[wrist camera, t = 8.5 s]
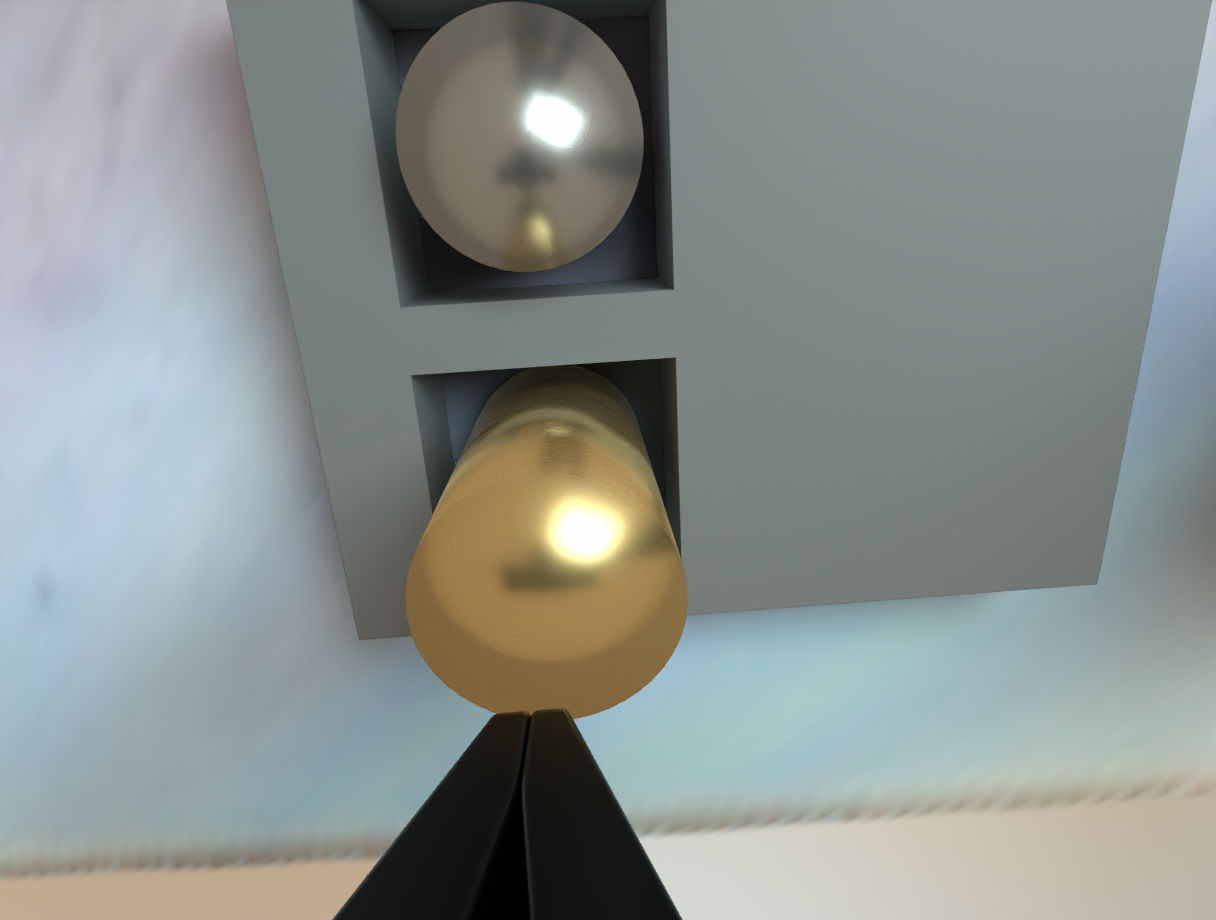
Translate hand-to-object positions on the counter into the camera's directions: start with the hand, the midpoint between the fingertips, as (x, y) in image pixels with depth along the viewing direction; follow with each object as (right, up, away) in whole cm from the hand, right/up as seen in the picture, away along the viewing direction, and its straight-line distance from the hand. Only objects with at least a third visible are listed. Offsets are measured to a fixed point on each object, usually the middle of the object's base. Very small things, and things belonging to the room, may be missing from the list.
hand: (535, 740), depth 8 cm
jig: (+3, +7, +9) cm, 12 cm away
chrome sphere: (-1, +10, +8) cm, 13 cm away
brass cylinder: (-1, +4, +10) cm, 11 cm away
